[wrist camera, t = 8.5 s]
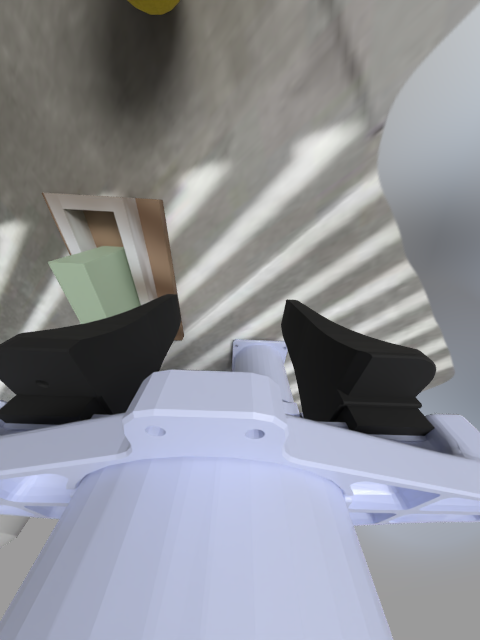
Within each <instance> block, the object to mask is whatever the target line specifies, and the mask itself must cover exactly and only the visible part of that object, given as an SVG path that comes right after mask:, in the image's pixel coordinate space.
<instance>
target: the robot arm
mask: <svg viewBox="0 0 480 640" xmlns="http://www.w3.org/2000/svg"><path fill="white" fill-rule="evenodd" d="M180 324H181V315H180V309H179V302H178V296H177V294H166V295H163V296H161V297H158V298H156V299H154V300H152V301H150V302H147V303H145V304H143V305H141V306H138V307H136V308H133V309H131V310H129V311H126V312H123V313H121V314H117V315H114V316H111V317H108V318H104V319H100V320H96V321H93V322H89V323H84V324H79V325H74V326H69V327H63V328H57V329H50V330H43V331H35V332H27V333H21V334H18V335H16V336H14V337H12V338H11V339H9V340H7V341H5V342H4V343H2V344H0V380H1V381H2V382H3V383H4V384H5V385H6V386H7V387H9V388H10V389H11V390H12V391H13V392H14V393H15V394H16V396H15V397H14V398H12V399H11V400H10V401H9V402H6V401H3V400H0V515H12V516H24V517H37V518H49V519H59V521H58V523H57V524H56V526H55V528H54V529H53V531H52V533H51V535H50V536H49V538H48V540H47V542H46V543H45V545H44V547H43V548H42V550H41V552H40V554H39V556H38V557H37V559H36V561H35V562H34V564H33V566H32V567H31V569H30V571H29V573H28V574H27V576H26V578H25V580H24V581H23V583H22V585H21V586H20V588H19V590H18V592H17V593H16V595H15V597H14V599H13V600H12V602H11V604H10V606H9V607H8V609H7V611H6V612H5V614H4V616H3V617H2V619H1V621H0V640H393V637H392V634H391V632H390V629H389V626H388V623H387V620H386V617H385V615H384V611H383V609H382V606H381V603H380V600H379V597H378V594H377V591H376V589H375V586H374V583H373V580H372V577H371V575H370V571H369V569H368V566H367V563H366V560H365V557H364V554H363V551H362V549H361V546H360V543H359V540H358V537H357V534H356V532H355V529H354V526H359V525H380V524H401V523H428V522H480V432H479V431H478V430H477V429H476V428H475V427H474V426H473V425H471V424H470V422H468V421H467V420H466V419H465V418H464V417H463V416H462V415H458V414H430V415H427V416H424V415H423V414H422V413H421V412H420V410H419V409H418V408H421V407H422V404H421V403H420V402H419V401H418V400H417V399H416V396H417V395H418V394H419V393H420V392H421V391H422V390H423V389H424V388H425V387H426V386H427V385H428V384H429V383H430V382H431V380H432V379H433V378H434V375H435V373H436V365H435V364H434V363H433V361H432V360H431V359H429V358H428V357H427V356H426V355H424V354H423V353H422V352H421V351H419V350H417V349H413V348H409V347H405V346H401V345H396V344H392V343H388V342H385V341H381V340H378V339H375V338H371V337H368V336H365V335H363V334H360V333H357V332H354V331H352V330H349V329H347V328H345V327H343V326H340V325H338V324H336V323H334V322H332V321H330V320H328V319H327V318H325V317H323V316H321V315H320V314H318V313H316V312H315V311H313V310H312V309H310V308H309V307H307V306H305V305H304V304H302V303H301V302H299V301H297V300H286V305H285V309H284V314H283V319H282V323H281V327H282V333H283V338H284V341H265V340H241V339H235V340H234V341H233V356H232V372H229V371H203V370H177V369H172V370H165V371H159V370H160V367H161V365H162V362H163V360H164V358H165V356H166V354H167V352H168V350H169V348H170V347H171V345H172V343H173V341H174V339H175V337H176V335H177V333H178V330H179V327H180ZM235 345H238V346H235ZM283 347H285V348H283ZM287 351H288V352H289V355H290V358H291V361H292V364H293V367H294V371H295V375H296V380H297V384H298V389H299V394H300V400H301V406H302V412H303V413H300V414H299V410H298V407H297V403H294V401H293V397H292V393H291V390H290V386H289V382H288V379H287V375H286V371H285V367H284V362H285V358H286V354H287Z"/></svg>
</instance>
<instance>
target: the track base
mask: <svg viewBox="0 0 480 640" xmlns="http://www.w3.org/2000/svg"><path fill="white" fill-rule="evenodd" d="M42 195H43V197H44V199H45V201H46V204H47V206H48V208H49V210H50V212H51V214H52V217H53V219H54V221H55V223H56V225H57V228H58V230H59V232H60V234H61V236H62V238H63V241H64V243H65V245H66V247H67V249H68V251H69V254H70V255H74V254H77V253H81V252H84V251H87V250H91V249H94V248H98V247H101V246H115V247H124V249H125V253H126V256H127V259H128V263H129V266H130V270H131V273H132V277H133V280H134V283H135V287H136V290H137V294H138V297H139V300H140V304H141V305H143V304H145V303H147V302H150V301H152V300H154V299H156V298H158V297H161V296H163V295H166V294H177V289H176V282H175V276H174V270H173V263H172V257H171V251H170V245H169V238H168V232H167V226H166V219H165V213H164V207H163V200H156V199H139V198H124V197H108V196H91V195H74V194H57V193H42ZM177 296H178V295H177ZM178 302H179V301H178ZM179 309H180V308H179ZM180 315H181V314H180ZM183 337H184V333H183V326H182V320H181V324H180V327H179V330H178V333H177V335H176V337H175V339H174V340H182V339H183Z"/></svg>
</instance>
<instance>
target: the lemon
mask: <svg viewBox="0 0 480 640" xmlns="http://www.w3.org/2000/svg"><path fill="white" fill-rule="evenodd" d="M127 1H128V2H130V3H131V4H132V5H133V6H134V7H135V8H137V9H139V10H141V11H143V12H146V13H148V14H150V15H162V14H164V13H167V12H169V11H171V10H172V9H173V8H174V7H175V6H176V5H177V4H178V3H179V1H180V0H127Z"/></svg>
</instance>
